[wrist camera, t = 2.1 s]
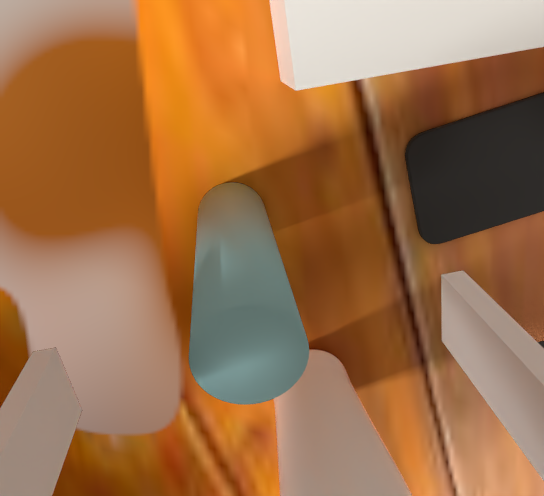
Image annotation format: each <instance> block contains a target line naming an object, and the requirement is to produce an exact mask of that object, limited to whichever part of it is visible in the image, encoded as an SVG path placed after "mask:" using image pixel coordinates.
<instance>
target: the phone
mask: <svg viewBox="0 0 544 496" xmlns="http://www.w3.org/2000/svg"><path fill="white" fill-rule="evenodd" d="M405 158H406V165H407V171H408V176H409V182H410V187H411V193H412V198H413V204H414V209H415V215H416V220H417V225H418V230H419V233H420V235H421V237H422V238H423V239H424V240H425V241H426V242H428V243H431V244H440V243H444V242H447V241H450V240H454V239H457V238H460V237H463V236H466V235H469V234H472V233H476V232H479V231H482V230H485V229H488V228H491V227H494V226H498V225H501V224H504V223H507V222H510V221H513V220H517V219H520V218H523V217H526V216H529V215H532V214H535V213H539V212H542V211H544V92H543V93H540V94H537V95H534V96H531V97H528V98H525V99H522V100H519V101H516V102H513V103H510V104H507V105H504V106H501V107H497V108H494V109H491V110H488V111H485V112H482V113H479V114H476V115H473V116H470V117H467V118H464V119H461V120H458V121H455V122H452V123H449V124H445V125H442V126H439V127H436V128H433V129H430V130H427V131H424V132H422V133H419V134H418V135H416V136H414V137H413V138H412V139H411V140H410V141H409V143H408V145H407V147H406V152H405Z"/></svg>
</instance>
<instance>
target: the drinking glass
mask: <svg viewBox="0 0 544 496" xmlns="http://www.w3.org/2000/svg"><path fill="white" fill-rule="evenodd" d="M274 405H275V418H276V434H277V451H278V469H279V487H280V496H412V494H411V492H410V490H409V488H408V486H407V484H406V482H405V480H404V478H403V476H402V475H401V473H400V471H399V469H398V467H397V465H396V463H395V462H394V460H393V458H392V456H391V454H390V453H389V451H388V449H387V447H386V446H385V444H384V442H383V440H382V438H381V437H380V435H379V433H378V431H377V429H376V428H375V426H374V424H373V422H372V420H371V419H370V417H369V415H368V413H367V411H366V409H365V408H364V406H363V404H362V402H361V400H360V398H359V397H358V395H357V393H356V391H355V389H354V387H353V385H352V384H351V381H350V379H349V376H348V374H347V372H346V369H345V367H344V366H343V364H342V363H341V361H340V360H339V359H338V358H337V357H335V356H334V355H332V354H330V353H328V352H326V351H322V350H316V349H309V359H308V363H307V366H306V368H305V371H304V372H303V374H302V376H301V377H300V379H299V380H298V381H297V382H296V383H295V384H294V385H293V386H292V387H291V388H290V389H289V390H288V391H286V392H285V393H283V394H282V395H280V396H278V397H276V398H274Z"/></svg>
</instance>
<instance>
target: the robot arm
mask: <svg viewBox="0 0 544 496" xmlns="http://www.w3.org/2000/svg"><path fill="white" fill-rule="evenodd" d="M441 306H442V342H443V343H444V345H445V346H446V347H447V349H448V350H449V351H450V353H451V354H452V356H453V357H454V358H455V360H456V361H457V362H458V364H459V365H460V367H461V368H462V369H463V371H464V372H465V373H466V375H467V376H468V377H469V379H470V380H471V382H472V383H473V384H474V386H475V387H476V388H477V390H478V391H479V393H480V394H481V395H482V397H483V398H484V399H485V401H486V402H487V404H488V405H489V406H490V408H491V409H492V410H493V412H494V413H495V415H496V416H497V417H498V419H499V420H500V421H501V423H502V424H503V426H504V427H505V428H506V430H507V431H508V432H509V434H510V435H511V437H512V438H513V439H514V441H515V442H516V443H517V445H518V446H519V448H520V449H521V450H522V452H523V453H524V454H525V456H526V457H527V458H528V460H529V461H530V463H531V464H532V465H533V467H534V468H535V469H536V471H537V472H538V474H539V475H540V476H541V478H542V479H543V480H544V341H541V342H537V341H536V340H535V339H534V338H532V337H531V336H530V335H529V334H528V333H527V332H526V331H525V330H524V329H523V328H522V327H521V326H520V325H519V324H518V323H517V322H516V321H515V320H514V319H513V318H512V317H511V316H510V315H509V314H508V313H507V312H506V311H505V310H504V309H503V308H501V307H500V306H499V305H498V304H497V303H496V302H495V301H494V300H493V299H492V298H491V297H490V296H489V295H488V294H487V293H486V292H485V291H484V290H483V289H482V288H481V287H480V286H479V285H478V284H477V283H476V282H475V281H474V280H473V279H472V278H471V277H469V276H468V275H467V274H466V273H465V272H464V271H457V272H452V273H447V274H442V275H441ZM81 412H82V408H81V406H80V404H79V401H78V399H77V397H76V394H75V392H74V389H73V387H72V385H71V382H70V380H69V377H68V375H67V373H66V370H65V368H64V365H63V363H62V361H61V358H60V356H59V354H58V351H57V349H56V347H55V348H50V349H45V350H39V351H34V352H32V354H31V356H30V357H29V359H28V361H27V363H26V364H25V366H24V368H23V370H22V371H21V373H20V375H19V377H18V378H17V380H16V382H15V384H14V385H13V387H12V389H11V391H10V392H9V394H8V396H7V398H6V399H5V401H4V403H3V405H2V406H1V408H0V496H52V494H53V491H54V489H55V486H56V483H57V480H58V477H59V475H60V472H61V469H62V466H63V463H64V460H65V458H66V455H67V452H68V449H69V446H70V443H71V441H72V438H73V435H74V432H75V429H76V427H77V424H78V421H79V418H80V415H81Z"/></svg>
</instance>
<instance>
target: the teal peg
mask: <svg viewBox="0 0 544 496" xmlns="http://www.w3.org/2000/svg"><path fill="white" fill-rule="evenodd" d="M308 359H309V344H308V339H307V336H306V333H305V330H304V327H303V324H302V321H301V318H300V315H299V311H298V308H297V305H296V302H295V299H294V296H293V293H292V290H291V287H290V284H289V281H288V277H287V274H286V271H285V268H284V265H283V262H282V259H281V256H280V253H279V250H278V247H277V244H276V240H275V237H274V234H273V231H272V228H271V225H270V222H269V219H268V216H267V213H266V210H265V206H264V204H263V201H262V199H261V197H260V196H259V195H258V193H257V192H256V191H254V190H253V189H252V188H250V187H249V186H247V185H244V184H241V183H235V182H229V183H223V184H220V185H217V186H215V187H213V188H212V189H211V190H209V191H208V192H207V193H206V194H205V196H204V197H203V199H202V200H201V202H200V205H199V209H198V221H197V237H196V253H195V268H194V284H193V300H192V316H191V331H190V347H189V364H190V369H191V372H192V375H193V376H194V378H195V380H196V382H197V383H198V384H199V385H200V387H201V388H203V389H204V390H205V391H206V392H207V393H209V394H210V395H212V396H213V397H215V398H217V399H220V400H222V401H225V402H229V403H234V404H256V403H261V402H265V401H268V400H271V399H274V398H276V397H278V396H280V395H282V394H283V393H285V392H286V391H288V390H289V389H290V388H291V387H292V386H293V385H294V384H295V383H296V382H297V381H298V380H299V379H300V377H301V376H302V374H303V372H304V371H305V368H306V366H307V363H308Z"/></svg>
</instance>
